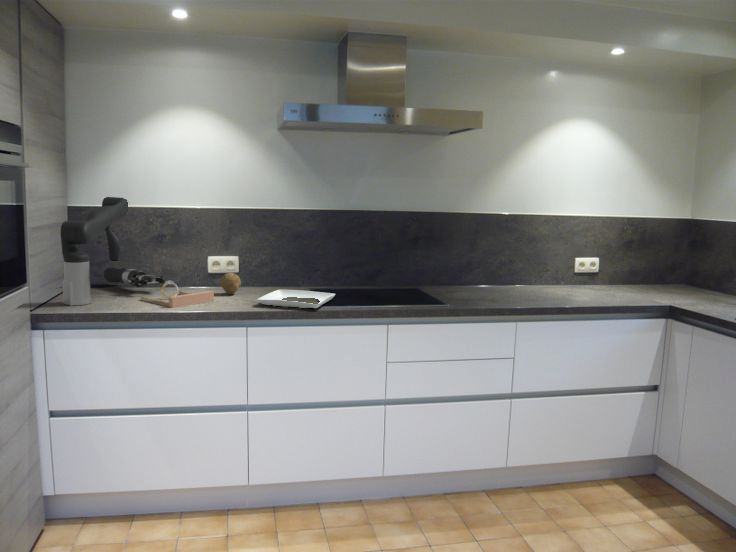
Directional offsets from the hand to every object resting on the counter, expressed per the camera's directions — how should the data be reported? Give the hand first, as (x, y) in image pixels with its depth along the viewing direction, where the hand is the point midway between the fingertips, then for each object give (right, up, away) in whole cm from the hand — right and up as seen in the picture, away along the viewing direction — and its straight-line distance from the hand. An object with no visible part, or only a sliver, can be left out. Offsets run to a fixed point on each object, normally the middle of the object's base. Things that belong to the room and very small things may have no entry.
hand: (155, 282), depth 262 cm
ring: (+8, -7, -5) cm, 12 cm away
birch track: (+12, -8, -8) cm, 16 cm away
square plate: (+63, -10, -5) cm, 64 cm away
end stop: (+20, -9, -14) cm, 26 cm away
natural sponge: (+31, -6, +10) cm, 33 cm away
